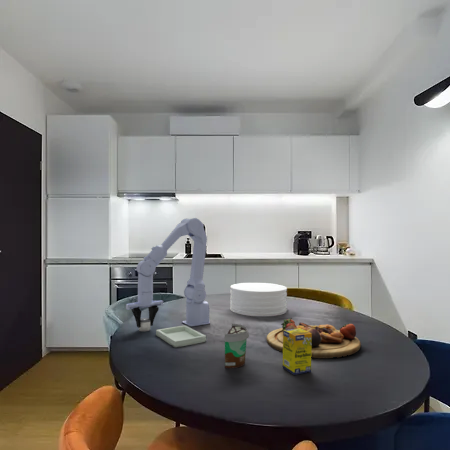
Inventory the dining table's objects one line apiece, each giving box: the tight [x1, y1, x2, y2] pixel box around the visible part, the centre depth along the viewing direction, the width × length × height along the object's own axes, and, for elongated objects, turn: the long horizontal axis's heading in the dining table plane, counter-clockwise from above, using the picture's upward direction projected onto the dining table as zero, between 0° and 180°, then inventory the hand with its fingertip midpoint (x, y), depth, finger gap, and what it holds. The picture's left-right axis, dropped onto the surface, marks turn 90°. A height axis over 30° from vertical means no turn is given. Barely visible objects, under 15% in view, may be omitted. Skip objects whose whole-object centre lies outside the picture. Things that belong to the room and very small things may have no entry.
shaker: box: [138, 317, 152, 332], centre depth 137 cm, size 4×4×4 cm
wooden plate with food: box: [266, 317, 362, 359], centre depth 124 cm, size 32×32×8 cm
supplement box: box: [282, 328, 312, 376], centre depth 99 cm, size 6×6×11 cm
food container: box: [223, 323, 250, 369], centre depth 104 cm, size 12×6×10 cm, turn 168°
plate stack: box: [229, 282, 288, 317], centre depth 175 cm, size 28×28×12 cm
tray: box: [155, 324, 207, 348], centre depth 126 cm, size 12×16×2 cm
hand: (144, 326), depth 137 cm, fingers closed on shaker, 4 cm apart
